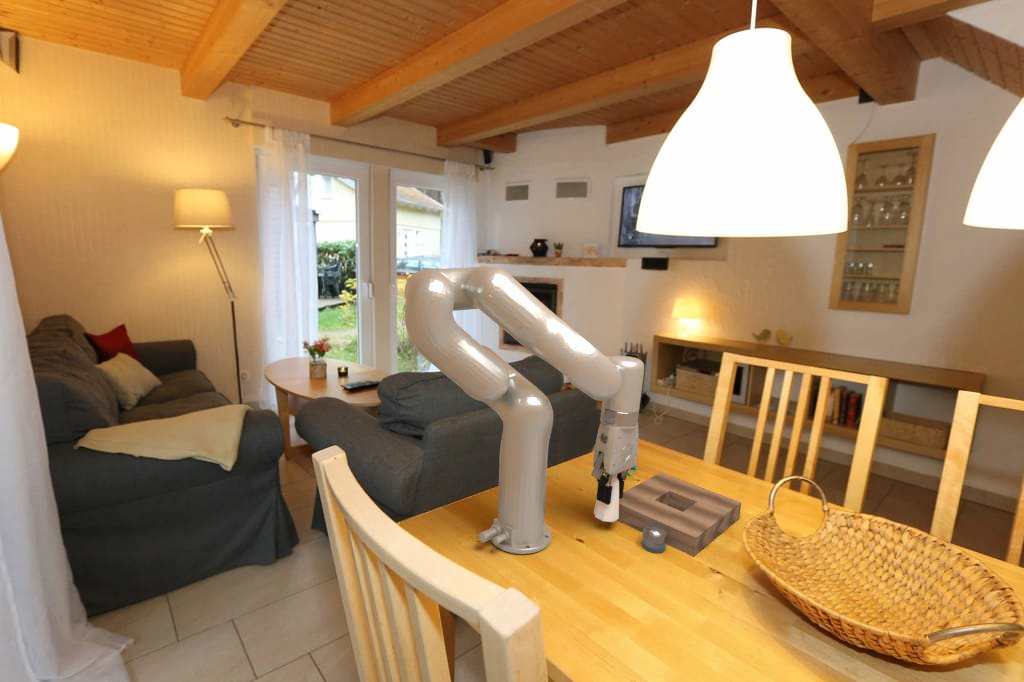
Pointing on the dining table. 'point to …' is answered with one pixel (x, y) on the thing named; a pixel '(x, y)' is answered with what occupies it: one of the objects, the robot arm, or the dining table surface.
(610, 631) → the dining table surface
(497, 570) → the dining table surface
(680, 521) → the socket plate
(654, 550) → the short stub
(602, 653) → the dining table surface
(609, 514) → the salt shaker
